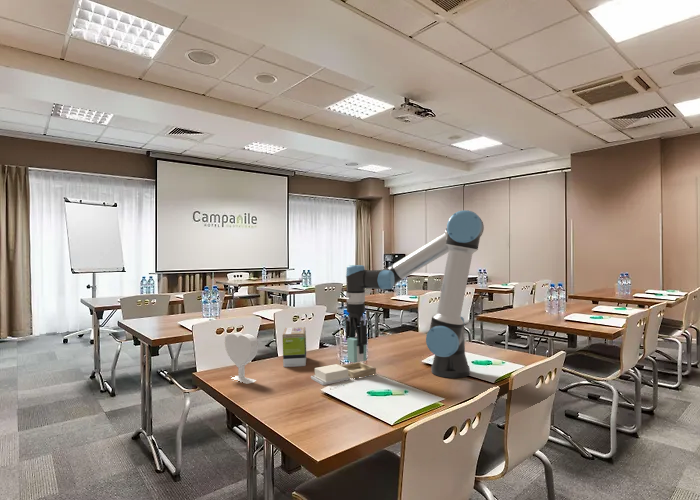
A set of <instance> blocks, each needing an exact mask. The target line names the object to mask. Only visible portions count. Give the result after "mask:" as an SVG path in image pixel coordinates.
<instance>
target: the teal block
mask: <svg viewBox="0 0 700 500" xmlns="http://www.w3.org/2000/svg"><path fill="white" fill-rule="evenodd" d="M346 342H347V343H346V345H347V346H346V347H347V361H349V362H352V363H358V362H357V345H358V341H357V336H355V337H352V338H347V340H346ZM366 361H367V344H366V345H364V361H363V362H366Z"/></svg>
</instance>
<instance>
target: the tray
mask: <svg viewBox="0 0 700 500" xmlns="http://www.w3.org/2000/svg"><path fill="white" fill-rule="evenodd" d="M341 366H342V367H344V368H347V369H348V376H349V377H350V379H352V378H353V379H352V380H355V379H354V378H359V377H363V378H366V377H365V376H368V377H370V376H369V375H373V374H374V375H373V376H376V375H377V368H376V367H374V366H371V365H369V364H366V363H364V362H356V363H353V362H352V363H349V364H343V365H341ZM359 379H360V378H359Z"/></svg>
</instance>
